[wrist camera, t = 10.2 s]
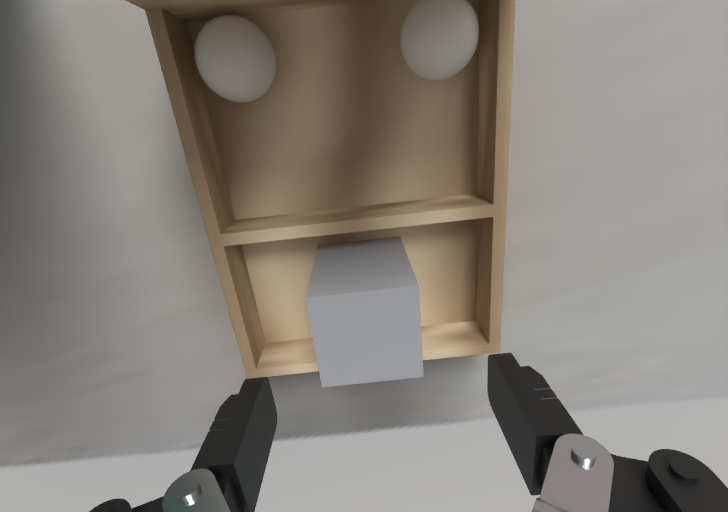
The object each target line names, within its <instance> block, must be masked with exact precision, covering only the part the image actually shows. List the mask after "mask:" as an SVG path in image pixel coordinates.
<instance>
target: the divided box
mask: <svg viewBox="0 0 728 512" xmlns="http://www.w3.org/2000/svg"><path fill="white" fill-rule="evenodd" d="M126 1H128V2H130V3H132V4H134V5H136V6H138V7H140V8H142V9H144V10H145V11H146V15H147V18H148V22H149V26H150V29H151V33H152V36H153V40H154V44H155V47H156V51H157V54H158V58H159V62H160V65H161V69H162V72H163V76H164V80H165V83H166V87H167V90H168V94H169V98H170V101H171V105H172V108H173V112H174V116H175V119H176V123H177V126H178V130H179V134H180V137H181V141H182V144H183V148H184V152H185V155H186V159H187V162H188V166H189V170H190V173H191V177H192V180H193V184H194V188H195V191H196V195H197V198H198V202H199V206H200V209H201V213H202V216H203V220H204V224H205V227H206V231H207V235H208V238H209V242H210V245H211V249H212V253H213V256H214V260H215V263H216V267H217V271H218V274H219V278H220V281H221V285H222V289H223V292H224V296H225V299H226V303H227V307H228V310H229V314H230V317H231V321H232V325H233V328H234V332H235V335H236V339H237V343H238V346H239V350H240V353H241V357H242V361H243V364H244V368H245V371H246V375H247V379H249V378H258V377H270V376H280V375H289V374H298V373H308V372H317V371H319V369H318V363H317V358H316V352H315V347H314V342H313V336H312V331H311V325H310V320H309V314H308V309H307V304H306V298H305V297H306V293H307V289H308V285H309V281H310V277H311V273H312V268H313V264H314V260H315V256H316V252H317V248H318V245H326V244H335V243H344V242H354V241H363V240H372V239H381V238H391V237H400V238H401V241H402V243H403V246H404V248H405V251H406V253H407V256H408V259H409V261H410V264H411V266H412V269H413V272H414V274H415V277H416V279H417V282H418V285H419V297H420V317H421V336H422V355H423V360H430V359H440V358H449V357H459V356H468V355H478V354H487V353H496V352H500V340H501V317H502V294H503V271H504V248H505V225H506V202H507V179H508V156H509V133H510V111H511V88H512V65H513V42H514V19H515V0H467V1H468V2H469V3H470V4H471V5H472V7H473V9H474V11H475V13H476V15H477V19H478V24H479V39H478V44H477V47H476V50H475V53H474V55H473V57H472V58H471V60H470V61H469V63H468V64H467V65H466V67H465V68H464V69H463V70H461V71H460V72H459V73H458V74H456V75H455V76H453V77H451V78H449V79H446V80H441V81H429V80H425V79H423V78H420V77H419V76H417V75H415V74H414V73H413V72H412V71H411V70H410V69H409V68H408V66H407V65H406V63H405V61H404V59H403V57H402V54H401V49H400V31H401V27H402V24H403V21H404V18H405V16H406V14H407V13H408V11H409V10H410V8H411V7H412V6H413V5H414V4H415V3H416V2H417V1H418V0H126ZM222 15H237V16H241V17H244V18H246V19H248V20H250V21H252V22H253V23H255V24H256V25H257V26H259V27H260V28H261V29H262V30H263V32H264V33H265V34H266V35H267V37H268V39H269V40H270V42H271V44H272V46H273V49H274V52H275V56H276V75H275V79H274V81H273V84H272V85H271V87H270V89H269V90H268V91H267V92H266V93H265V94H264V95H263V96H262V97H260V98H258V99H256V100H254V101H251V102H244V103H239V102H233V101H229V100H227V99H224V98H222V97H220V96H219V95H217V94H216V93H215V92H213V91H212V90H211V89H210V88H209V87H208V86H207V85H206V83H205V82H204V80H203V79H202V77H201V75H200V73H199V71H198V69H197V65H196V61H195V53H194V51H195V42H196V39H197V36H198V34H199V32H200V30H201V29H202V27H203V26H204V25H205V24H206V23H207V22H209V21H210V20H211V19H213V18H215V17H218V16H222Z"/></svg>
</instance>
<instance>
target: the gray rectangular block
mask: <svg viewBox="0 0 728 512" xmlns="http://www.w3.org/2000/svg"><path fill="white" fill-rule="evenodd" d="M305 298H306V304H307V309H308V314H309V320H310V325H311V331H312V336H313V342H314V347H315V352H316V358H317V363H318V369H319V374H320V380H321V385H322V388H323V387H332V386H342V385H351V384H361V383H370V382H380V381H389V380H399V379H408V378H418V377H424V375H423V355H422V336H421V317H420V297H419V285H418V282H417V279H416V277H415V274H414V272H413V269H412V266H411V264H410V261H409V259H408V256H407V253H406V251H405V248H404V246H403V243H402V241H401V238H400V237H391V238H381V239H372V240H363V241H354V242H344V243H335V244H326V245H318V248H317V252H316V256H315V260H314V264H313V268H312V273H311V277H310V281H309V285H308V289H307V293H306V297H305Z"/></svg>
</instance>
